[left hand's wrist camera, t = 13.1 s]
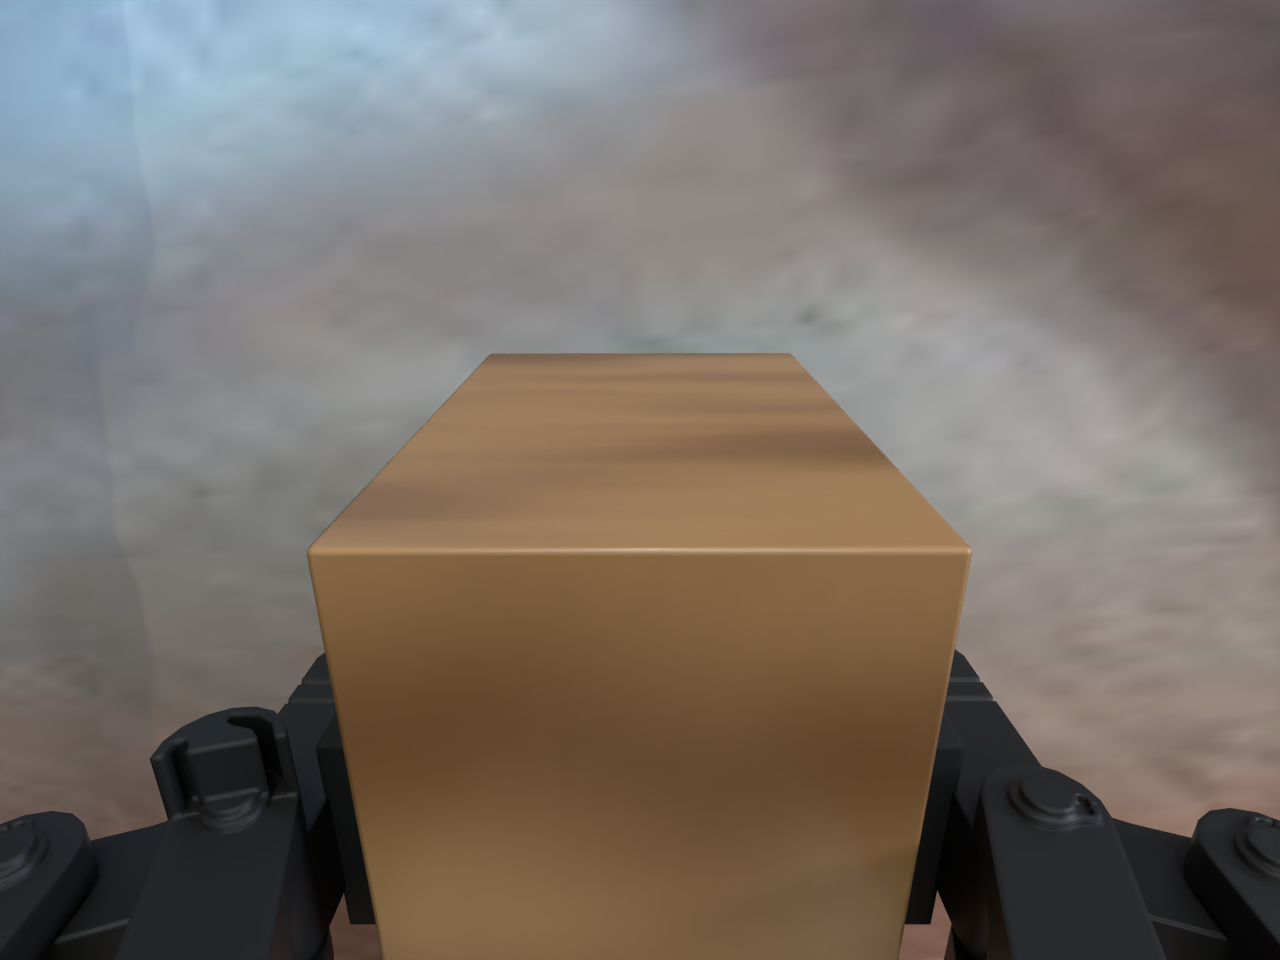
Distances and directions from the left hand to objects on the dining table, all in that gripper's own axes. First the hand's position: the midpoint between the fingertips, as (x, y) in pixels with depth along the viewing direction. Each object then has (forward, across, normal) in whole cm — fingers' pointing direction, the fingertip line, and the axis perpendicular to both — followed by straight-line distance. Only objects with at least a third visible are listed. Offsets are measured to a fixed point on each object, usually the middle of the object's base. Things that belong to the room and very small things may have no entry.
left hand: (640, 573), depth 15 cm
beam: (+1, 0, -33) cm, 33 cm away
